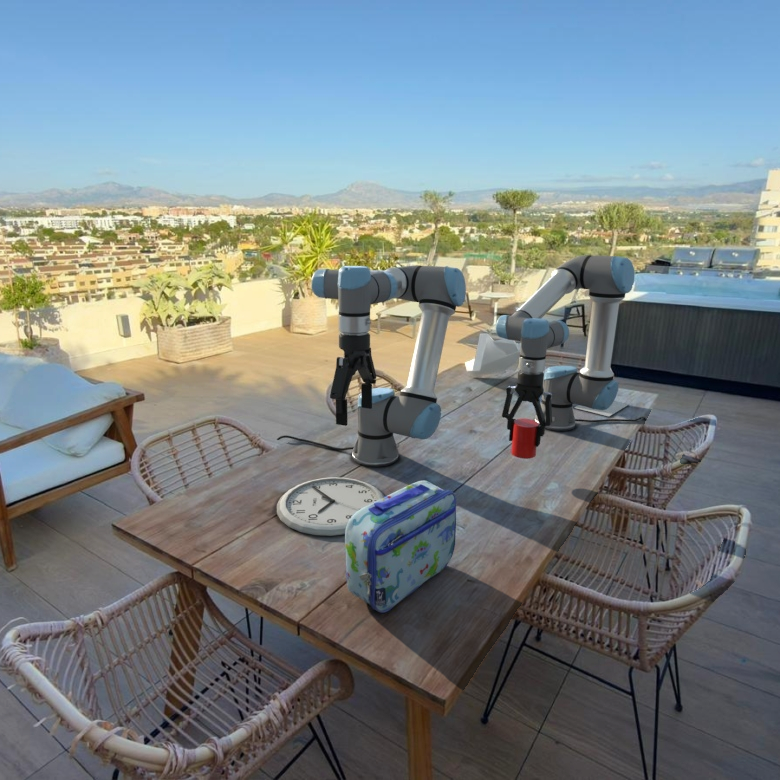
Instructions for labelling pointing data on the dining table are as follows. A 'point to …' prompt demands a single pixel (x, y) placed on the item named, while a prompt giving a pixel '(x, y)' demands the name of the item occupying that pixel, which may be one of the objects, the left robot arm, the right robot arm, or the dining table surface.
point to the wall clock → (325, 504)
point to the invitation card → (608, 412)
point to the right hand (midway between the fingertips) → (524, 442)
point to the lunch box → (399, 543)
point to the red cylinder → (524, 438)
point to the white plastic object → (493, 356)
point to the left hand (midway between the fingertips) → (354, 415)
